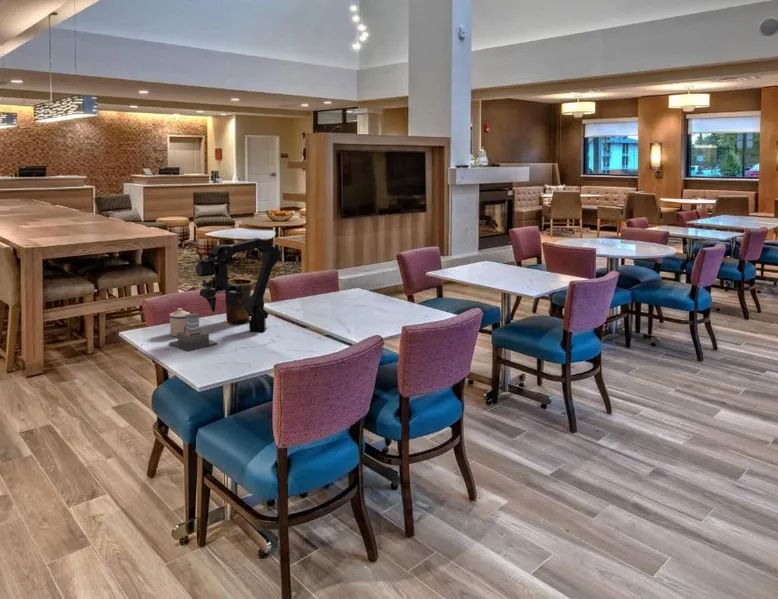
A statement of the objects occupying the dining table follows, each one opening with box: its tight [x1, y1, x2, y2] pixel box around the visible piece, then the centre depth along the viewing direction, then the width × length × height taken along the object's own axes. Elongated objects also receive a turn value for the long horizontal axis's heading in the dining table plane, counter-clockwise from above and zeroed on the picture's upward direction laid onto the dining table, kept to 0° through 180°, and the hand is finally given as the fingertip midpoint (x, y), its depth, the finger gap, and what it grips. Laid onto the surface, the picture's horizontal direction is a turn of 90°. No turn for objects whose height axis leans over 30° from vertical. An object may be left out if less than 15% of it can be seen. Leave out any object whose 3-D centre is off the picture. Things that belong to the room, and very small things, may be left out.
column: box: [186, 312, 201, 335], centre depth 260 cm, size 5×4×12 cm
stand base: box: [168, 329, 219, 353], centre depth 261 cm, size 14×14×6 cm
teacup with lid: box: [169, 307, 191, 338], centre depth 277 cm, size 12×9×12 cm
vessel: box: [223, 278, 254, 326], centre depth 299 cm, size 14×14×20 cm
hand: (222, 310), depth 272 cm, fingers open, 9 cm apart
